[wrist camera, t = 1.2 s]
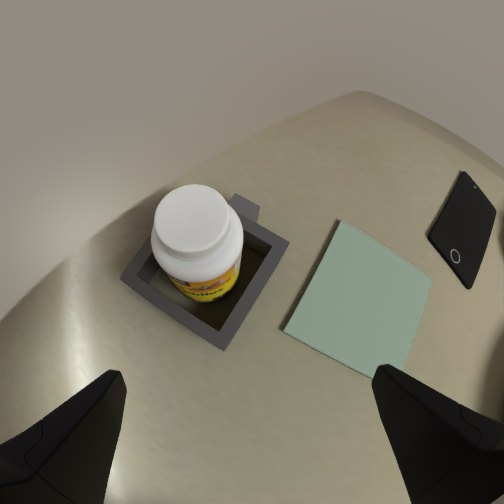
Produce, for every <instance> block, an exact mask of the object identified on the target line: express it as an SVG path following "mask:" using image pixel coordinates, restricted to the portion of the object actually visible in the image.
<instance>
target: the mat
mask: <svg viewBox="0 0 504 504" xmlns="http://www.w3.org/2000/svg"><path fill="white" fill-rule="evenodd" d="M431 282H432V279H431V278H430V277H428V276H427V275H425V274H424V273H423V272H421V271H420V270H418V269H417V268H416V267H414V266H413V265H411V264H410V263H408V262H407V261H405V260H404V259H403V258H401V257H400V256H398V255H397V254H395V253H394V252H392V251H391V250H389V249H388V248H386V247H385V246H383V245H382V244H380V243H378V242H377V241H375V240H374V239H372V238H371V237H369V236H368V235H366V234H364V233H363V232H361V231H360V230H358V229H356V228H355V227H353V226H351V225H350V224H348V223H347V222H345V221H343V220H341V221H340V223H339V225H338V227H337V229H336V231H335V233H334V235H333V237H332V239H331V241H330V243H329V246H328V248H327V250H326V252H325V254H324V256H323V258H322V260H321V262H320V263H319V265H318V267H317V269H316V271H315V273H314V275H313V277H312V279H311V281H310V283H309V285H308V287H307V288H306V290H305V292H304V294H303V296H302V298H301V300H300V301H299V303H298V305H297V307H296V309H295V311H294V312H293V314H292V316H291V318H290V320H289V321H288V323H287V325H286V327H285V328H284V330H283V332H285V333H286V334H288V335H290V336H292V337H293V338H295V339H297V340H299V341H301V342H302V343H304V344H306V345H308V346H310V347H312V348H313V349H315V350H317V351H319V352H321V353H323V354H325V355H326V356H328V357H330V358H332V359H334V360H336V361H338V362H340V363H342V364H344V365H346V366H348V367H349V368H351V369H353V370H355V371H357V372H359V373H361V374H363V375H365V376H367V377H369V378H371V379H373V377H374V374H375V372H376V369H377V367H378V366H379V365H383V364H390V365H392V366H394V367H396V368H397V369H399V370H401V371H402V368H403V366H404V363H405V361H406V358H407V356H408V353H409V351H410V348H411V346H412V343H413V340H414V337H415V335H416V332H417V329H418V326H419V323H420V320H421V317H422V314H423V310H424V307H425V304H426V300H427V297H428V293H429V289H430V286H431Z"/></svg>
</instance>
